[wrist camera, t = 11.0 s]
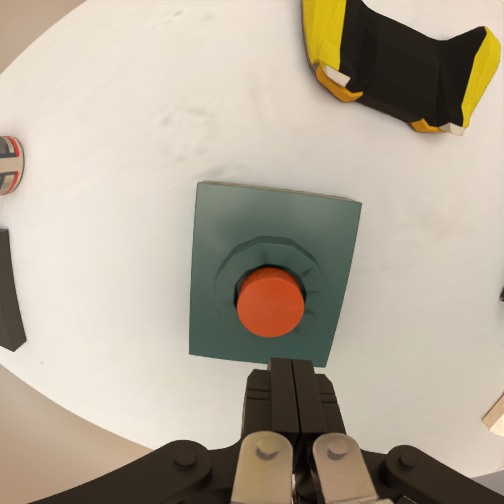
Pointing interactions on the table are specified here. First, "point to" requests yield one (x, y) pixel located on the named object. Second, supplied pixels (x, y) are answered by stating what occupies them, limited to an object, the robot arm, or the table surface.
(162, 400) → the table surface
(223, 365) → the table surface
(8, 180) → the pill bottle
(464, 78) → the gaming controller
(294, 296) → the button
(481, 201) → the table surface
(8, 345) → the dial panel
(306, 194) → the button block
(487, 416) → the bracket
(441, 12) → the table surface
